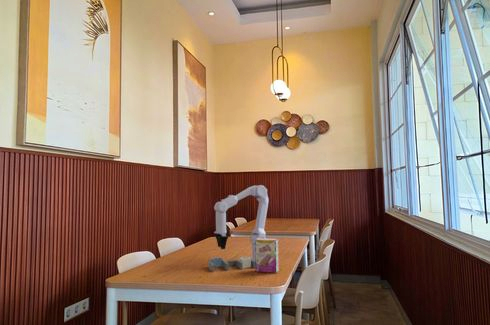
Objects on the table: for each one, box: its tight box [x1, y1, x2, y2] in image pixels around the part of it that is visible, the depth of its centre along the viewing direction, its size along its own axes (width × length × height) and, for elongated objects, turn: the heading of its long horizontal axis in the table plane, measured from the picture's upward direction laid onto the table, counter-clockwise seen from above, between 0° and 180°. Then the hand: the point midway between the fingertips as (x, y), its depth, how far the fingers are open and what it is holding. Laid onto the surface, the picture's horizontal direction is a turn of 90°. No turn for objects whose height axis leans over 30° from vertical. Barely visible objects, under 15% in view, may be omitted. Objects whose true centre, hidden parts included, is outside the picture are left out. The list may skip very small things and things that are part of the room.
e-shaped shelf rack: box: [207, 256, 256, 273], centre depth 192 cm, size 24×12×5 cm, turn 106°
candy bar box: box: [255, 238, 280, 274], centre depth 181 cm, size 11×5×16 cm, turn 71°
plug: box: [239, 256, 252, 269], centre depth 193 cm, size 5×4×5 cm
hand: (221, 248), depth 198 cm, fingers open, 7 cm apart
